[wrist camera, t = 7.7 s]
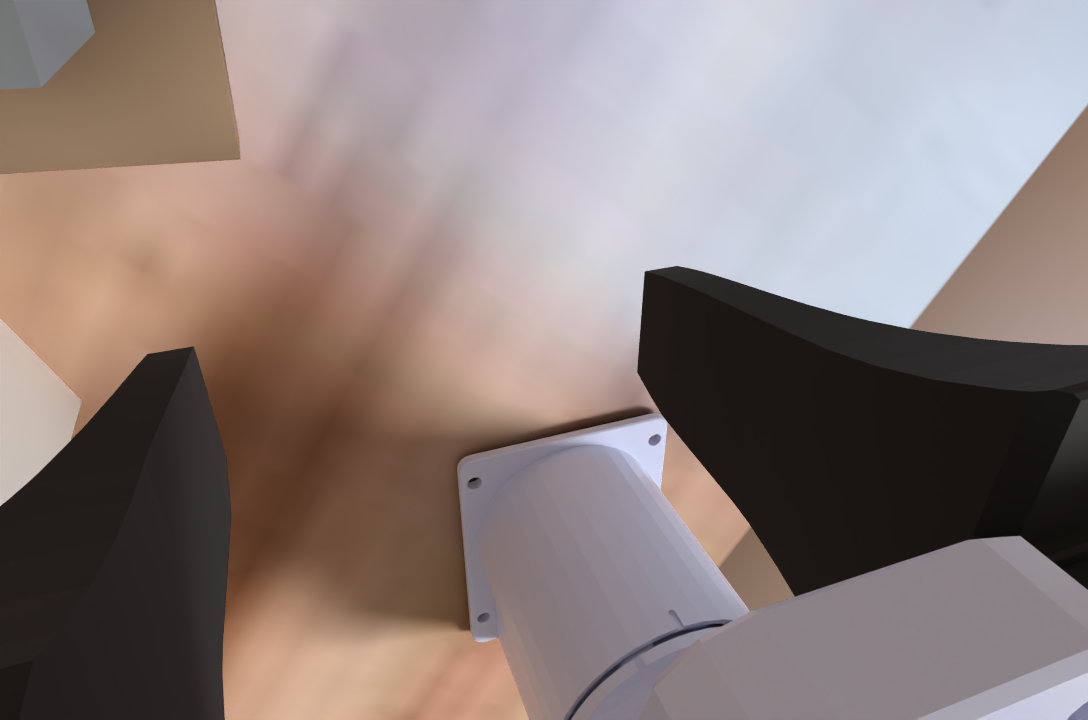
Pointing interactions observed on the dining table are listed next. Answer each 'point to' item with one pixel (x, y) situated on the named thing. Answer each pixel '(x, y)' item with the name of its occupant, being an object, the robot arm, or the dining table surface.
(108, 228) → the dining table surface
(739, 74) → the dining table surface
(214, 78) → the brown block
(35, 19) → the slate block
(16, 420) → the cream block
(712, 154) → the dining table surface
